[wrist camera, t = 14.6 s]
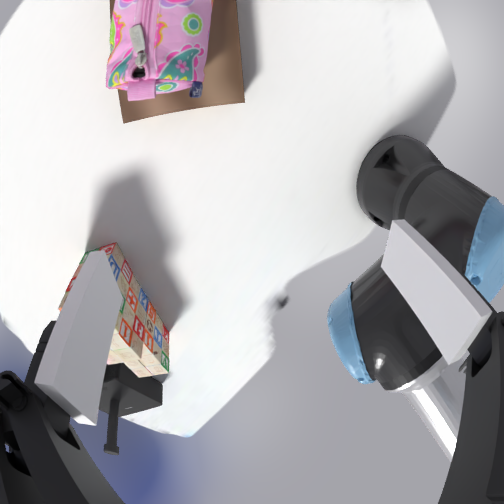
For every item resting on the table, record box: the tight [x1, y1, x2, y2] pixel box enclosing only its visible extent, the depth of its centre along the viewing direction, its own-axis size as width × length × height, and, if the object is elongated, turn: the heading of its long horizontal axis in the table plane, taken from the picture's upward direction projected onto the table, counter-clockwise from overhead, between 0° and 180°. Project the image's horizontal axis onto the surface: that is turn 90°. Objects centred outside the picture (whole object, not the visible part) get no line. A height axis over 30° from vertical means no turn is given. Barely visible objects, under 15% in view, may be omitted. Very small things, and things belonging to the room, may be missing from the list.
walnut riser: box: [110, 0, 245, 123], centre depth 20 cm, size 13×25×4 cm, turn 4°
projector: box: [99, 362, 163, 455], centre depth 49 cm, size 19×17×20 cm
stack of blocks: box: [58, 243, 169, 378], centre depth 38 cm, size 21×6×12 cm, turn 12°
